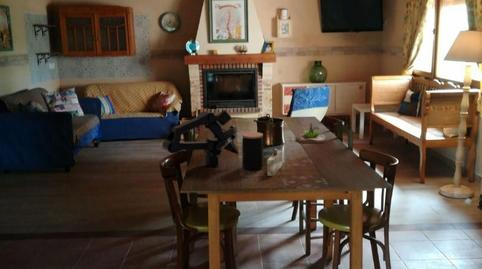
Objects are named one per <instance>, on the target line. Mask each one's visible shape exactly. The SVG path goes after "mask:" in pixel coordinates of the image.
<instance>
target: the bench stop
mask: <svg viewBox="0 0 482 269" xmlns="http://www.w3.org/2000/svg"><path fill="white" fill-rule="evenodd" d="M272 151H273V152H272V153H273V154H272V155H271V156H270V157H269V158H268V159H267V165H266V166H267V169H266V170H267V173H266V174H267V176H271V177H274V176H275V175H276V174H277V173H278V171H279V170H280V169H281V167H282V166H283V154H284V153H283V150H281V149H278V148H273V150H272Z"/></svg>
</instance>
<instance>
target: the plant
mask: <svg viewBox="0 0 482 269" xmlns="http://www.w3.org/2000/svg"><path fill="white" fill-rule="evenodd" d="M309 125H310V126H309V128H308V129H307V130H304V133H298V134H297V135H296V137H295V141H296V142H298V143H300V144H317V145H318V144H326V142H327V141H328V139H327V137H326V136H325V135H324V134H321V133H320V130H321V128H320V127H314V128H312V127H313V126H312V125H313V123H312V122H310V123H309ZM316 129H317V130H318V131H316Z"/></svg>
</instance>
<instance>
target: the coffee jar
mask: <svg viewBox="0 0 482 269" xmlns="http://www.w3.org/2000/svg"><path fill="white" fill-rule="evenodd" d="M263 137H264V134H263V133H262V132H255V131H251V132H250V131H249V132H244V133H242V139H241V143H242V144H241V146H242V147H241V149H242V154H241V155H242V158H241V159H242V160H241V161H242V165H241V166H242V168H243V169H244V170H246V171H250V172H252V171H253V172H255V171H260V170H262V168H263V167H264V138H263Z"/></svg>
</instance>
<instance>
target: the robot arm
mask: <svg viewBox="0 0 482 269" xmlns="http://www.w3.org/2000/svg"><path fill="white" fill-rule="evenodd" d="M231 121H232V116H231V115H230V114H229V112H227V110H224V109H223V110H221V112H219V113H218V114H217V115H216V114H215V113H214V112H211V111H208V110H203V111H202V112H200V113H199V114H198V115H197V116H196V117H194V118H193V119H189V120H187V121H186V122H183V123H181V124H179V125H175V126H173V127H172V128H171V130H170V132H169V133H168V135H166V137H165V140H164V141H163V142H162V149H163V150H164V151H165V152H168V153H170V154H176V153H180V152H182V151H195V150H196V151H197V150H201V151H204V154H205V164H204V166H205V167H211V168H212V167H213V168H216V167H218V166H219V165H220V164H221V159H220V158H221V157H220V156H221V152H222V150H225V151H229V152H231V153H232V154H236V155H238V154H239V150H238V149H237V147H236V145H235V139H236V138H237V137H238V135H237V134H236V133H238V127H237V126H235V125H234V124H232V125H230V127H229V128H228V129H226V128H222V127H225V126H226V125H227V124H228V123H229V122H231ZM201 126H203V127H204V129H203V131H204V132H205V131H207V130H208V131H209V132H210V134H212V135H213V136H214V137H210V138H209V137H205V139H206V140H204V141H181V138H182V134H184V133H186V132H189V131H191V130H194V129H195V128H197V127H201Z"/></svg>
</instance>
